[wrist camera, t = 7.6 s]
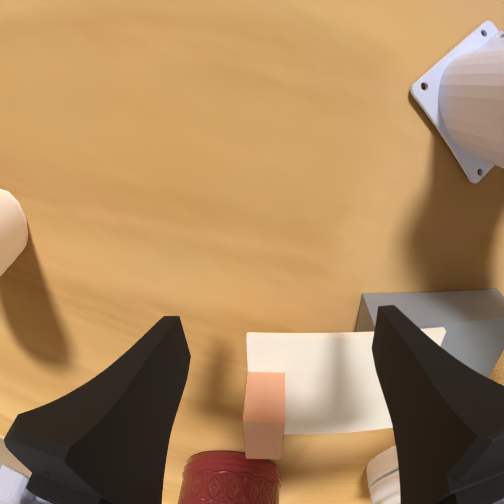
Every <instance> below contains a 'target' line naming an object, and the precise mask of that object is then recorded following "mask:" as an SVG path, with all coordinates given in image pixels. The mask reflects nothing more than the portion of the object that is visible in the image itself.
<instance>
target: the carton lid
mask: <svg viewBox="0 0 504 504" xmlns="http://www.w3.org/2000/svg"><path fill="white" fill-rule="evenodd" d="M421 330H422V331H423V332H424V333H425V334H426V335H427V336H429V337H430V338H431V339H432V340H433V341H434V342H436V343H437V344H438V345H439V346H441V343H442V341H443V338H444V336H445V333H446V330H445V329H444V327H437V328H425V329H421ZM373 337H374V332H345V333H255V332H247V361H248V376H247V385H246V395H245V404H244V413H243V432H244V444H245V456H246V458H248V459H281V457H282V448H283V439H284V435H296V434H328V433H345V432H357V431H368V430H377V429H386V428H393V426H392V422H391V418H390V415H389V411H388V408H387V405H386V402H385V398H384V395H383V392H382V389H381V386H380V383H379V380H378V376H377V373H376V369H375V364H374V359H373V354H372V342H373Z"/></svg>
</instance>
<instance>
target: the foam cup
mask: <svg viewBox="0 0 504 504" xmlns="http://www.w3.org/2000/svg"><path fill="white" fill-rule="evenodd" d="M28 234H29V232H28V227H27V221H26V216H25V214H24V212H23V210H22V208H21V206H20V204H19V202H18V201H17V200H16V199H15V198H14V197H13V196H12V194H11V193H10V192H8V191H5V190H2V189H0V277H1V276H2V274H3V273H4V272H5V271H6V270H7V269H8V267H9V266H10V265H11V264H12V263H13V262H14V261H15V259H16V258H17V257H18V256H19V254H21V252H22V251H23V250H24V249H25V247H26V246H27V240H28Z"/></svg>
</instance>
